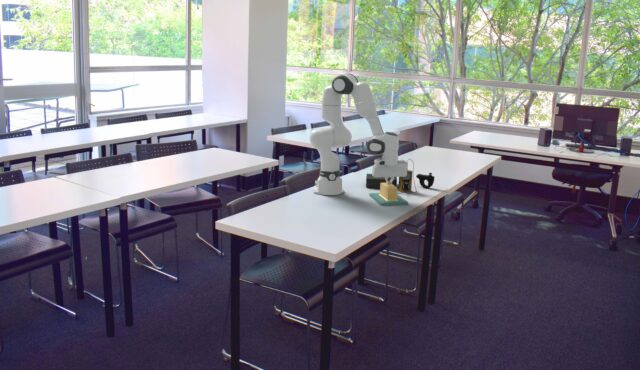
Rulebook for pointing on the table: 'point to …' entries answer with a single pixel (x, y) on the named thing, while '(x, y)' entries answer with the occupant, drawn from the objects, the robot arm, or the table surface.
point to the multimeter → (406, 181)
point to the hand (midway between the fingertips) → (389, 184)
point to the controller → (425, 177)
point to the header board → (384, 202)
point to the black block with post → (378, 180)
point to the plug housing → (388, 191)
